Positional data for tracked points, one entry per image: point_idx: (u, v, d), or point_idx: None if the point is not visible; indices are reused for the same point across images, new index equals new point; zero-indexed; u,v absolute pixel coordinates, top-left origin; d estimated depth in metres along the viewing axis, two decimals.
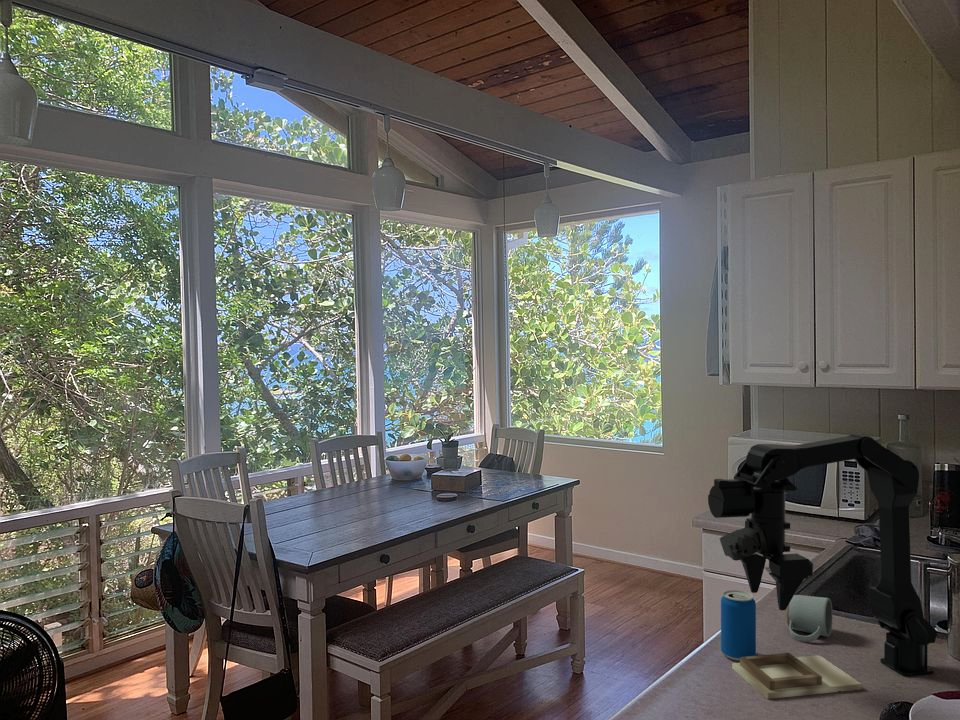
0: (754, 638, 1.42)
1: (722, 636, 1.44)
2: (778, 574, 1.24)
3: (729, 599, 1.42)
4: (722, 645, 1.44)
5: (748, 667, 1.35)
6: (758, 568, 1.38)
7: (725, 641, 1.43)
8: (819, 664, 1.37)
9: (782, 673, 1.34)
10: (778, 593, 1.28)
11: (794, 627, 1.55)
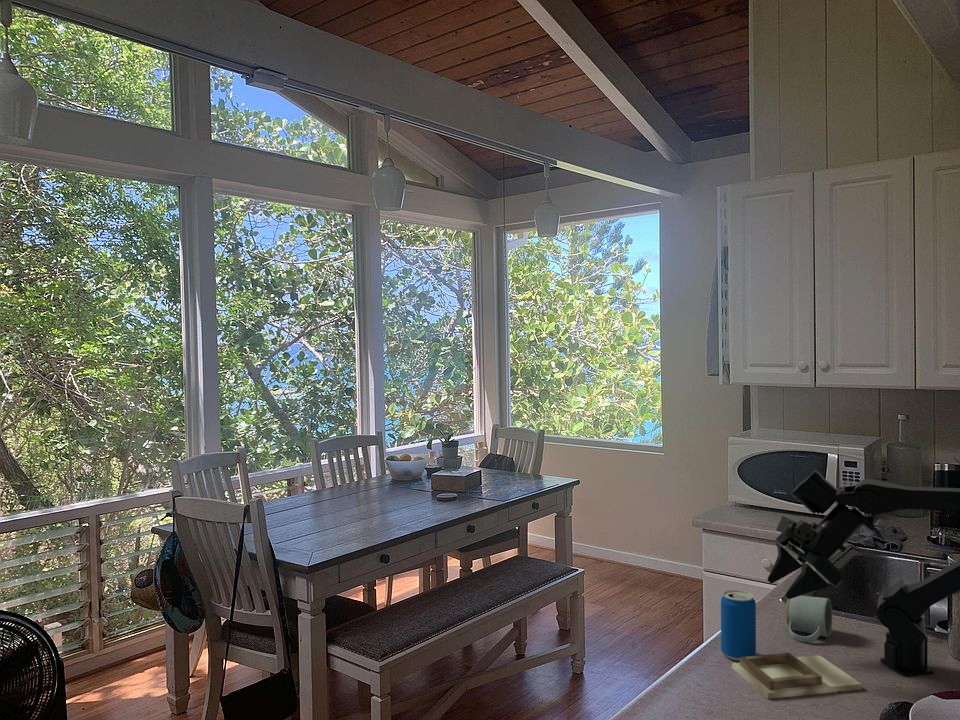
0: (754, 638, 1.42)
1: (722, 636, 1.44)
2: (811, 562, 1.34)
3: (729, 599, 1.42)
4: (722, 645, 1.44)
5: (748, 667, 1.35)
6: (787, 568, 1.48)
7: (725, 641, 1.43)
8: (819, 664, 1.37)
9: (782, 673, 1.34)
10: (795, 581, 1.38)
11: (794, 627, 1.54)
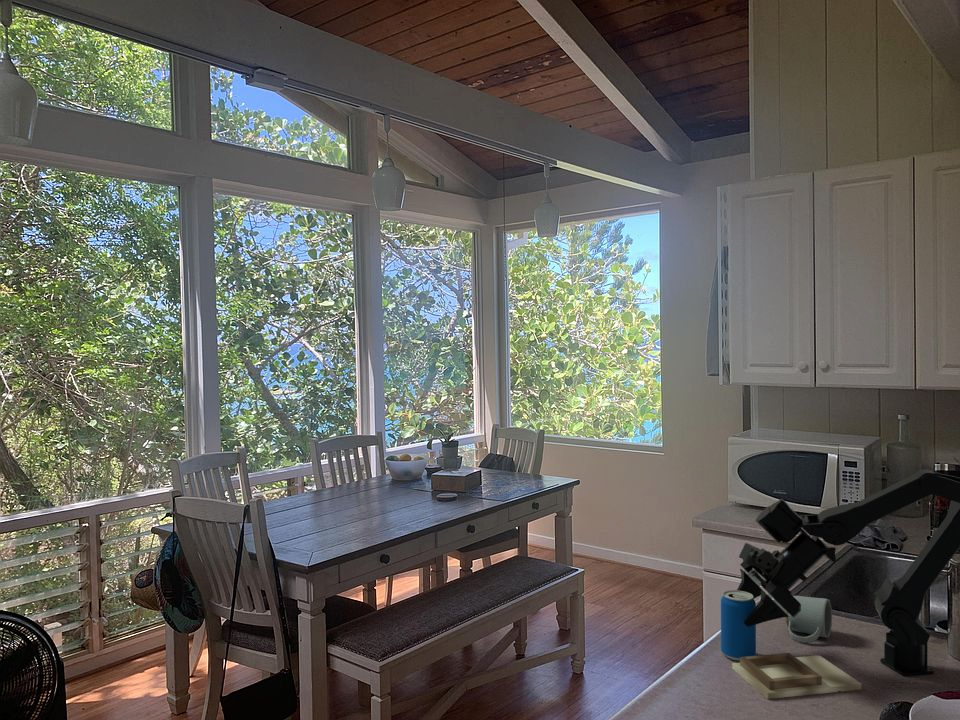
0: (754, 638, 1.42)
1: (722, 636, 1.44)
2: (769, 592, 1.35)
3: (729, 599, 1.42)
4: (722, 645, 1.44)
5: (748, 667, 1.35)
6: None
7: (725, 641, 1.43)
8: (819, 664, 1.37)
9: (782, 673, 1.34)
10: (754, 610, 1.39)
11: (793, 628, 1.54)
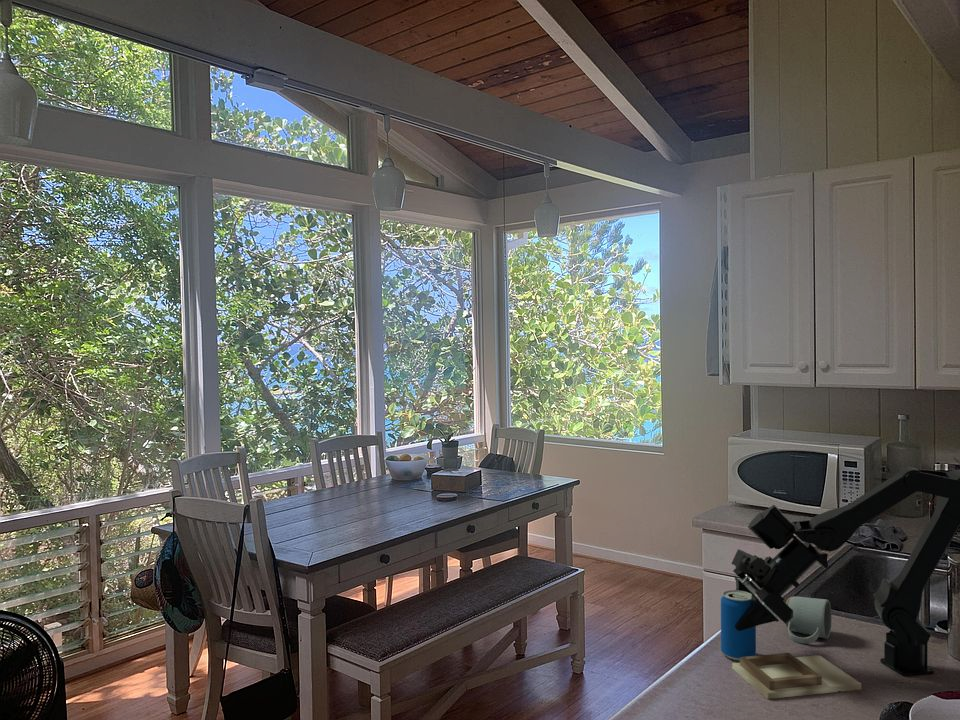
0: (754, 638, 1.42)
1: (722, 636, 1.44)
2: (762, 599, 1.35)
3: (729, 599, 1.42)
4: (722, 645, 1.44)
5: (748, 667, 1.35)
6: None
7: (725, 641, 1.43)
8: (819, 664, 1.37)
9: (782, 673, 1.34)
10: (745, 614, 1.40)
11: (793, 629, 1.54)
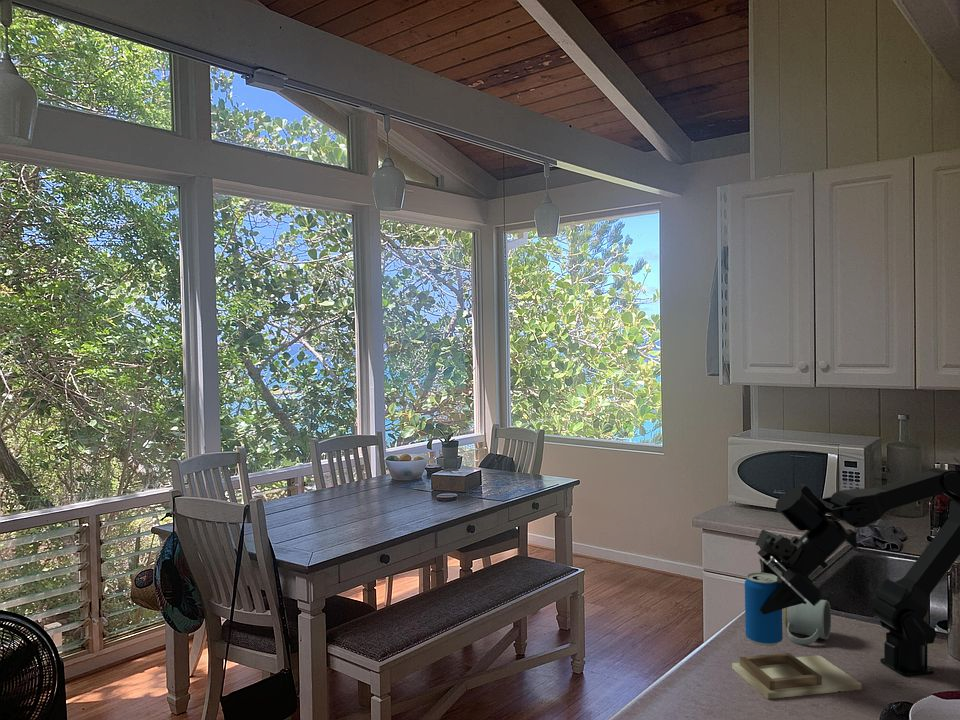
0: (780, 622, 1.35)
1: (746, 621, 1.38)
2: (788, 580, 1.29)
3: (753, 581, 1.36)
4: (747, 630, 1.38)
5: (748, 667, 1.35)
6: None
7: (749, 625, 1.37)
8: (819, 664, 1.37)
9: (782, 673, 1.34)
10: (770, 596, 1.33)
11: (792, 629, 1.53)
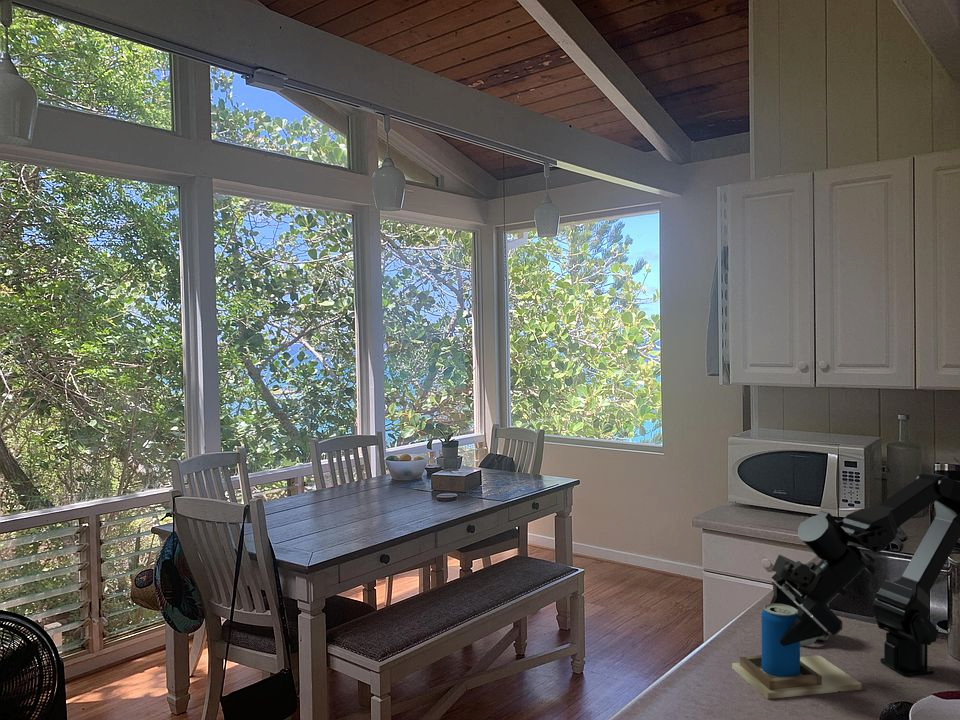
0: (798, 656, 1.31)
1: (763, 654, 1.33)
2: (808, 609, 1.25)
3: (771, 613, 1.32)
4: (763, 663, 1.33)
5: (748, 667, 1.35)
6: None
7: (766, 659, 1.32)
8: (819, 664, 1.37)
9: None
10: (791, 628, 1.28)
11: None
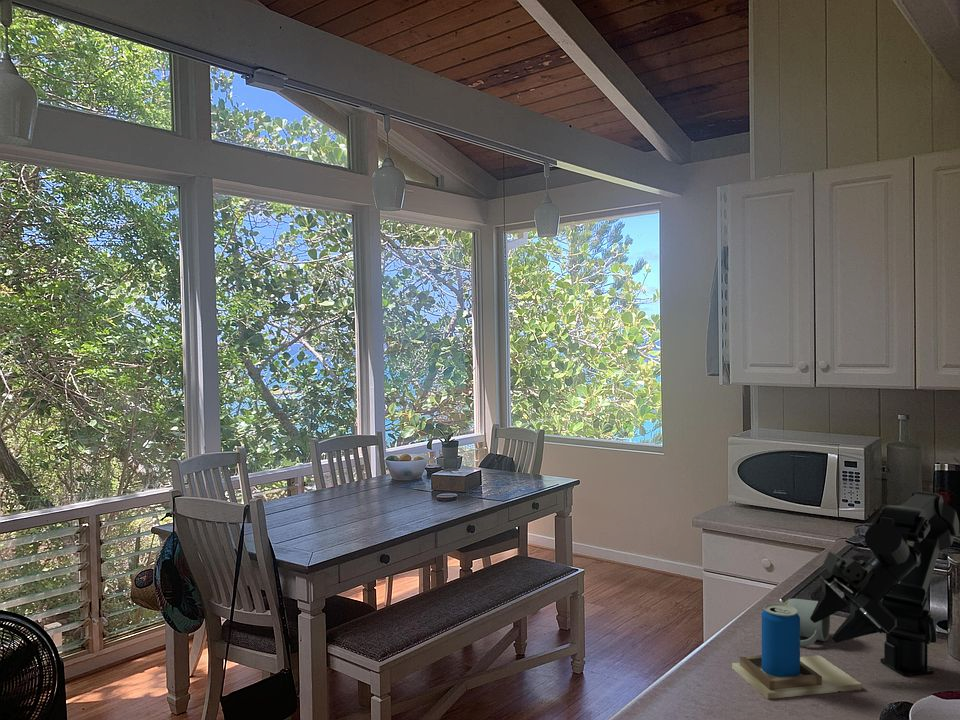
0: (798, 656, 1.31)
1: (763, 654, 1.33)
2: (862, 605, 1.24)
3: (771, 614, 1.32)
4: (763, 663, 1.33)
5: (748, 667, 1.35)
6: (832, 607, 1.38)
7: (766, 659, 1.32)
8: (819, 664, 1.37)
9: None
10: (843, 625, 1.28)
11: None
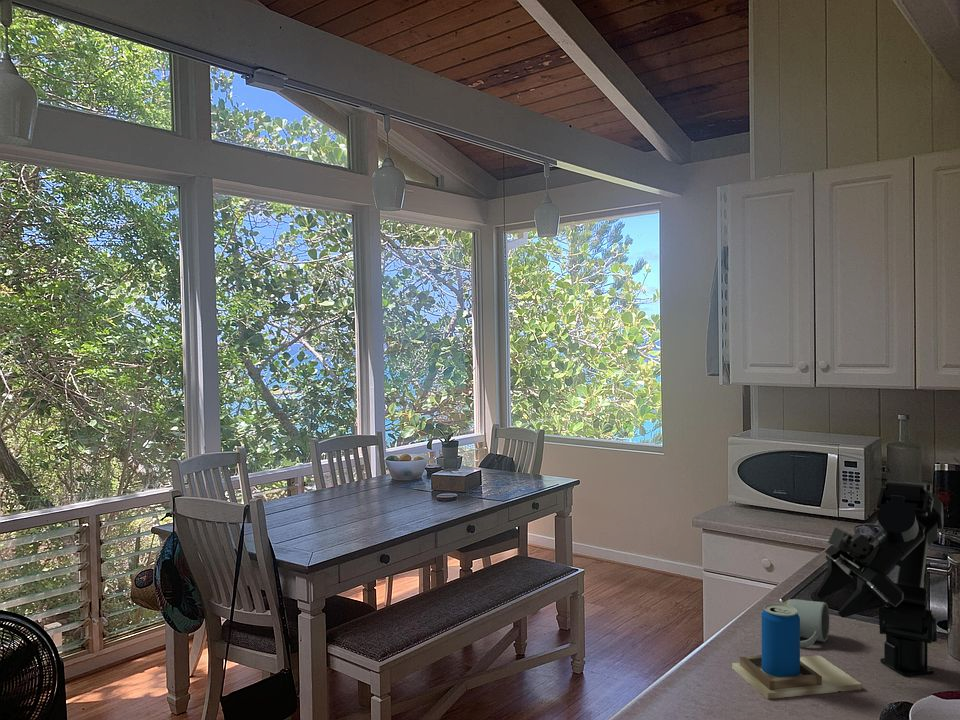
0: (798, 656, 1.31)
1: (763, 654, 1.33)
2: (869, 579, 1.24)
3: (771, 614, 1.32)
4: (763, 663, 1.33)
5: (748, 667, 1.35)
6: (838, 583, 1.38)
7: (766, 659, 1.32)
8: (819, 664, 1.37)
9: None
10: (850, 599, 1.28)
11: None
